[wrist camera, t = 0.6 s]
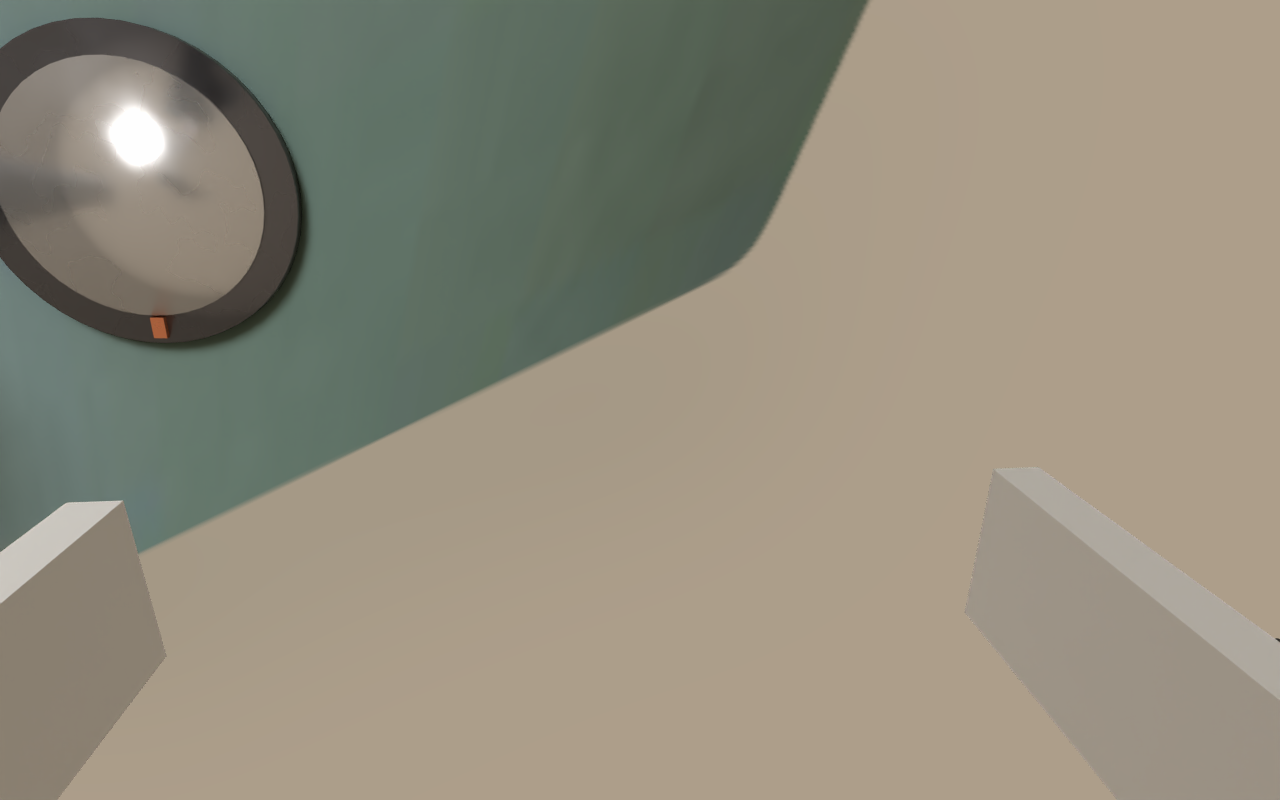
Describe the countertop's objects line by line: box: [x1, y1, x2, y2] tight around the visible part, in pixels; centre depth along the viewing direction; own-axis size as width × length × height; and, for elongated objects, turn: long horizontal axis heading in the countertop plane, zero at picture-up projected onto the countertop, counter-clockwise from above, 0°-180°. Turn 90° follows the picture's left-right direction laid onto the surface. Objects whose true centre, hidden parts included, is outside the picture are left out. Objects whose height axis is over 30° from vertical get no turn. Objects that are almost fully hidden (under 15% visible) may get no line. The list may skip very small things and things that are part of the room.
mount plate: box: [0, 18, 302, 343], centre depth 33 cm, size 14×14×1 cm
